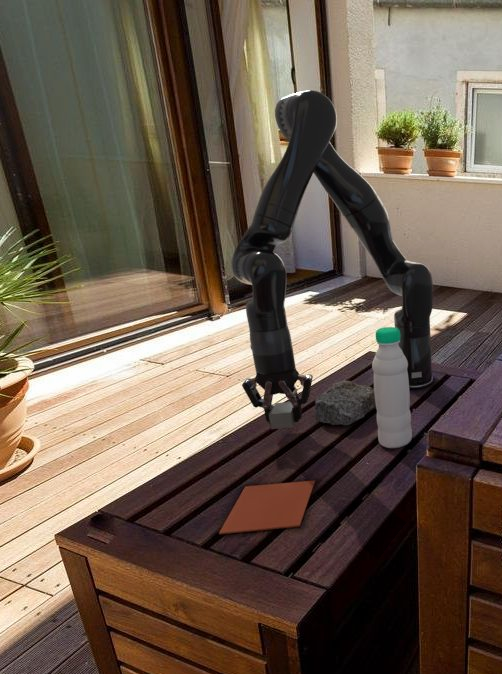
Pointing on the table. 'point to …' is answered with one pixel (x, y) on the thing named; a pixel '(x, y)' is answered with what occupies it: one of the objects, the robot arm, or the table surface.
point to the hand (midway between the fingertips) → (285, 421)
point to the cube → (282, 416)
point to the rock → (344, 403)
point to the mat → (269, 507)
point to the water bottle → (391, 390)
